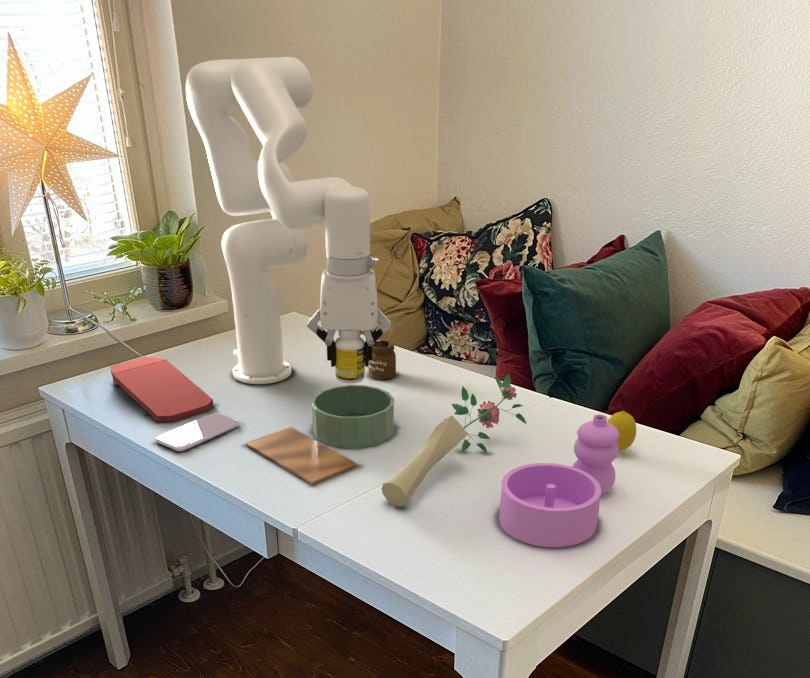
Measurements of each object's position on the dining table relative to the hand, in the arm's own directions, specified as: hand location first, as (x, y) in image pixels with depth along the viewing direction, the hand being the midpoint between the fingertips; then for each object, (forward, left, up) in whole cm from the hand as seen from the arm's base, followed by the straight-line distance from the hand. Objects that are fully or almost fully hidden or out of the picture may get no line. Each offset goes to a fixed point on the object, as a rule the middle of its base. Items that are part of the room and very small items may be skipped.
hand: (350, 363), depth 160 cm
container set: (+46, +6, -13) cm, 49 cm away
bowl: (+1, 0, -13) cm, 13 cm away
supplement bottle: (0, 0, -3) cm, 3 cm away
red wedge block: (-38, -20, -13) cm, 45 cm away
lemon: (+40, +30, -13) cm, 51 cm away
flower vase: (+24, +3, -13) cm, 27 cm away
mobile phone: (-17, -23, -13) cm, 32 cm away
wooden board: (+3, -14, -13) cm, 19 cm away
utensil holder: (-16, +22, -13) cm, 31 cm away
